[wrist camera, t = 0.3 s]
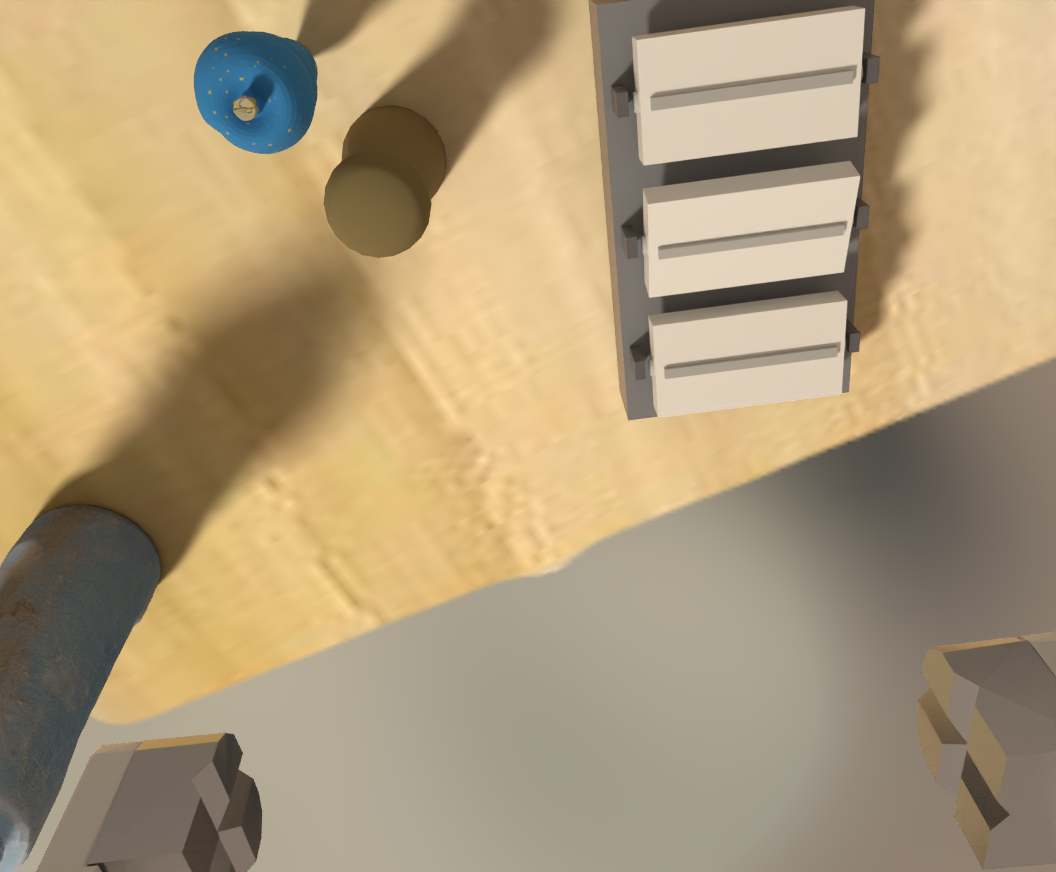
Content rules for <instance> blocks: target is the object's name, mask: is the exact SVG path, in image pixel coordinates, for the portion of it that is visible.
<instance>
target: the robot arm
mask: <svg viewBox="0 0 1056 872" xmlns="http://www.w3.org/2000/svg"><path fill="white" fill-rule="evenodd" d="M922 673H923V675H924V677H925V679H926V680H927V682H928V684H929V685H930V687H931V688H930V689H929V690H928V691H927V692H926V693H925V694H924V695H923V696H922V697H921V698H920V699H919V700H918V709H917V719H916V722H917V729H918V735H919V742H920V746H921V749H922V751H923V755H924V757H925V760H926V763H927V765H928V767H929V769H930V771H931V773H932V775H933V777H934V779H935V781H936V782H937V783H938V784H940V785H941V786H943V787H944V788H945V789H947V790H948V791H950V792H951V793H953V794H954V795H956V796H957V803H956V808H955V815H954V817H955V819H956V821H957V823H958V825H959V826H960V828H961V830H962V832H963V834H964V836H965V838H966V840H967V841H968V843H969V845H970V847H971V849H972V851H973V853H974V854H975V856H976V858H977V860H978V862H979V864H980V866H981V867H982V869H983V870H984V869H996V868H1006V867H1018V866H1030V865H1042V864H1054V863H1056V632H1051V633H1043V634H1035V635H1027V636H1019V637H1017V638H1014V637H1010V638H1002V639H995V640H986V641H979V642H971V643H964V644H956V645H949V646H941V647H933V648H930V649H929V651H928V652H927V654H926V655H925V657H924V664H923V670H922ZM242 755H243V752H242V750H241V748H240V746H239V744H238V742H237V740H236V738H235V735H234V734H229V733H220V734H209V735H198V736H188V737H177V738H166V739H156V740H145V741H142V742H133V743H132V742H131V743H121V744H111V745H102V746H101V747H100V748H99V749H98V750H97V751H96V752H95V753H94V754H93V755H92V756H91V758H90V760H89V762H88V764H87V766H86V768H85V770H84V772H83V775H82V776H81V779H80V781H79V783H78V785H77V787H76V789H75V791H74V793H73V796H72V798H71V800H70V802H69V804H68V806H67V808H66V810H65V812H64V814H63V817H62V819H61V821H60V823H59V825H58V827H57V829H56V831H55V833H54V836H53V838H52V840H51V842H50V844H49V846H48V848H47V850H46V853H45V855H44V857H43V859H42V861H41V863H40V865H39V867H38V869H37V871H36V872H247V871H248V870H249V869H250V867H251V866H252V865H253V864H254V863H255V862H256V860H257V855H258V851H259V846H260V841H261V833H262V808H261V802H260V796H259V792H258V790H257V787H256V785H255V782H254V779H253V778H251V777H249V776H248V775H246V774H245V773H243V772H242V771H240V770H238V769H239V765H240V762H241V758H242Z"/></svg>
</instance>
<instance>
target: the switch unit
mask: <svg viewBox="0 0 1056 872" xmlns="http://www.w3.org/2000/svg"><path fill="white" fill-rule="evenodd" d="M847 6H857V7H861V8H865V20H864V36H863V52H862V66H863V77H862V80H861V85H860V102H859V118H858V135H857V137H852V138H845V139H837V140H830V141H823V142H815V143H808V144H800V145H793V146H786V147H778V148H771V149H763V150H756V151H749V152H741V153H734V154H726V155H719V156H712V157H704V158H697V159H689V160H682V161H675V162H667V163H660V164H652V165H645V166H644V165H643V164H642V162H641V161H640V159H639V149H638V132H637V115H636V113H634V109H633V100H632V94H633V92H635V81H634V65H633V48H632V36H637V35H645V34H652V33H659V32H666V31H674V30H681V29H688V28H695V27H702V26H710V25H717V24H724V23H731V22H738V21H746V20H753V19H760V18H767V17H774V16H782V15H789V14H796V13H803V12H811V11H818V10H825V9H832V8H839V7H847ZM589 11H590V23H591V36H592V48H593V61H594V73H595V86H596V98H597V111H598V123H599V136H600V148H601V161H602V173H603V186H604V198H605V211H606V223H607V236H608V248H609V261H610V273H611V286H612V298H613V311H614V323H615V336H616V348H617V361H618V373H619V386H620V393H621V397H622V400H623V404H624V407H625V411H626V414H627V418H628V420H635V419H642V418H650V417H658V416H657V414H656V411H655V408H654V403H653V386H652V376H650V372H649V363H648V361H649V359H651V352H650V335H649V318H648V315H654V314H662V313H669V312H677V311H685V310H692V309H700V308H708V307H715V306H723V305H730V304H738V303H746V302H753V301H761V300H769V299H776V298H784V297H792V296H799V295H807V294H814V293H822V292H830V291H837V290H838V291H839V292H840V293H841V294H842V296H843V297H844V298H845V299H846V300H847V315H846V332H845V340H846V350H845V351H844V365H843V381H842V393H845V392H849V382H850V366H851V353H852V352H859V345H860V332H859V331H858V330H857V329H856V328H855V326H854V325H853V320H854V305H855V290H856V274H857V259H858V244H859V228H867V227H868V216H869V205H868V204H866V203H865V202H864V201H862V200H861V198H862V182H863V167H864V152H865V136H866V121H867V106H868V90H869V84H871V83H878V73H879V59H880V57H878V56H875V55H872V54H871V45H872V29H873V14H874V0H589ZM844 161H851V163H852V164H853V166H854V167H855V168H856V170H857V171H858V173H859V174H860V181H859V187H858V193H857V199H856V204H855V210H854V223H853V226H852V228H851V233H850V239H849V245H848V251H847V257H846V262H845V268H844V272H842V273H834V274H827V275H819V276H812V277H804V278H796V279H789V280H781V281H774V282H766V283H758V284H751V285H743V286H736V287H728V288H720V289H713V290H705V291H698V292H690V293H682V294H675V295H667V296H660V297H652V298H649V295H648V292H647V288H646V285H645V278H644V255H643V252H642V247H641V236H644V222H643V189H644V188H651V187H658V186H666V185H673V184H681V183H688V182H696V181H703V180H710V179H718V178H725V177H733V176H740V175H748V174H755V173H763V172H770V171H777V170H785V169H792V168H800V167H807V166H815V165H822V164H829V163H837V162H844Z"/></svg>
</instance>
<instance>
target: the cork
mask: <svg viewBox="0 0 1056 872" xmlns="http://www.w3.org/2000/svg"><path fill="white" fill-rule="evenodd" d="M445 168H446V156H445V150H444V145H443V143H442V141H441V139H440V137H439V135H438V133H437V130H436V129H435V128H434V127H433V126H432V125H431V124H430V123H429V122H428V121H427V120H426V119H425V118H424V117H423V116H421V115H419V114H417V113H415V112H414V111H412V110H410V109H406V108H402V107H397V106H386V107H378V108H375V109H373V110H371V111H369V112H367V113H365V114H363V115H361V116H360V117H359V118H358V119H357V120H356V121H355V122H354V123H353V125H352V126H351V127H350V129H349V131H348V133H347V135H346V137H345V140H344V142H343V152H342V162H341V163H340V164H339V165H338V166H337V167H336V168H335V169H334V170H333V172H332V174H331V176H330V178H329V180H328V182H327V185H326V187H325V197H324V206H325V211H326V215H327V220H328V222H329V224H330V226H331V228H332V229H333V231H334V233H335V235H336V236H337V237H338V238H339V239H340V240H341V241H342V242H343V243H344V244H345V245H346V246H347V247H348V248H350V249H352V250H354V251H356V252H358V253H360V254H362V255H366V256H372V257H377V258H380V257H388V256H394V255H396V254H399V253H401V252H403V251H405V250H407V249H409V248H410V247H411V246H413V245H414V244H415V243H416V242H417V241H418V240H419V239H420V238H421V237H422V235H423V233H424V231H425V229H426V227H427V225H428V223H429V217H430V210H431V199H432V197H433V196H434V195H435V194H436V192H437V191H438V189H439V187H440V185H441V183H442V181H443V179H444V174H445Z"/></svg>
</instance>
